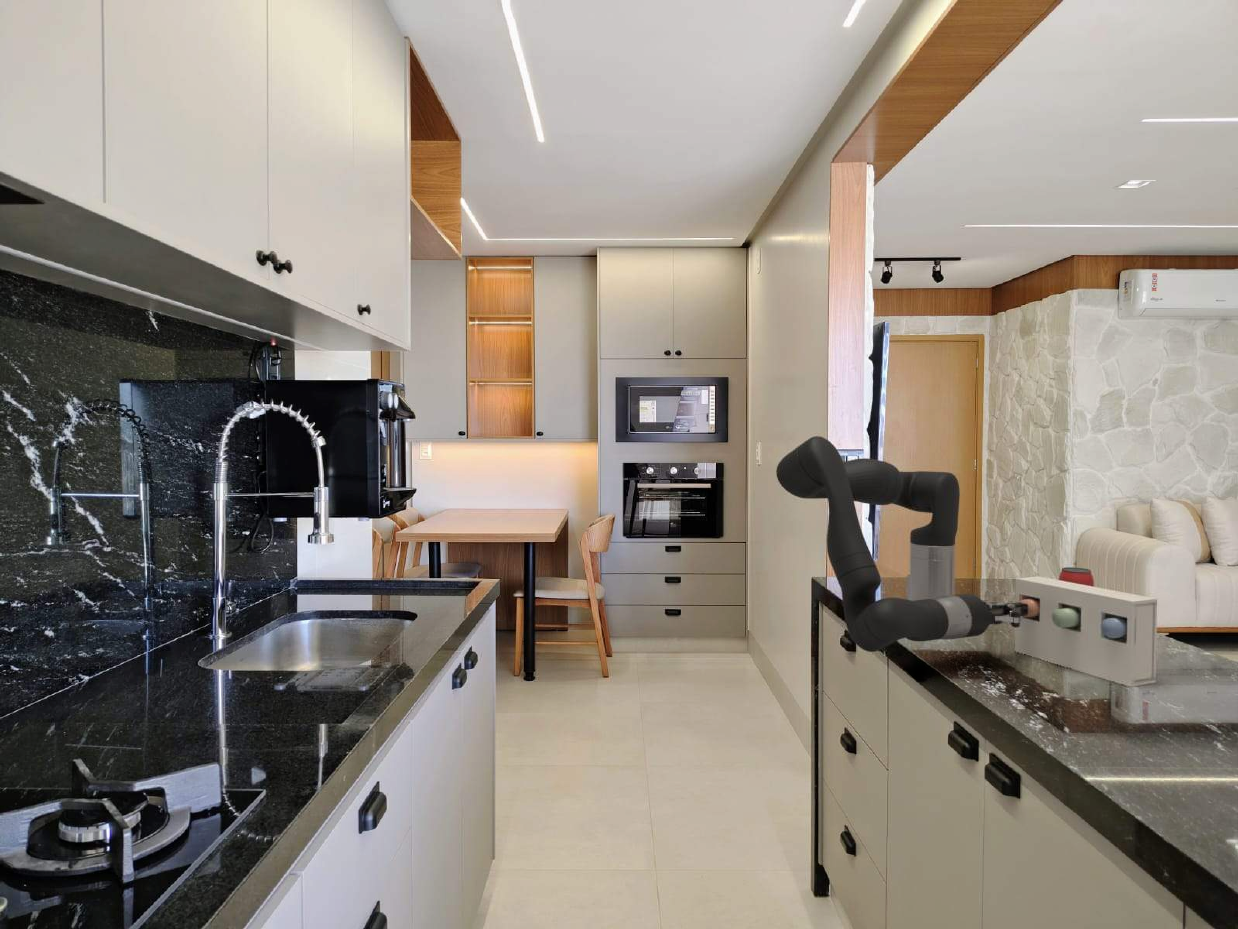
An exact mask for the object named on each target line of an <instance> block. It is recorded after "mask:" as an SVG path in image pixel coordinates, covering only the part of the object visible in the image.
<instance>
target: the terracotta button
mask: <svg viewBox="0 0 1238 929" xmlns="http://www.w3.org/2000/svg"><path fill="white" fill-rule="evenodd" d="M1020 602H1021V603H1025V604H1028V615H1027V616H1025V617H1033V616H1040V598H1035V599H1026V600H1022V601H1020Z"/></svg>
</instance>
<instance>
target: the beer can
mask: <svg viewBox="0 0 1238 929" xmlns="http://www.w3.org/2000/svg"><path fill="white" fill-rule="evenodd" d="M1060 571H1061V572H1060V574H1059V575H1058V580H1060V581H1066V582H1071V583H1076V584H1082V585H1087V586H1092V587H1095V586H1094V585H1095V580H1094V577H1093V575H1092V570H1091V569H1089V568H1084V567H1070V566H1069V567H1062V568H1061V570H1060Z"/></svg>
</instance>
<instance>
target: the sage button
mask: <svg viewBox="0 0 1238 929" xmlns="http://www.w3.org/2000/svg"><path fill="white" fill-rule="evenodd" d="M1052 620H1053V622H1054V624H1055V625H1056V626H1058V627H1060V628H1065V627H1073V626H1079V625H1081V611H1080V610H1079V609H1077V608H1065V609H1057V610H1055V611H1054V612H1053V614H1052Z"/></svg>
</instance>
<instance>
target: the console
mask: <svg viewBox="0 0 1238 929" xmlns="http://www.w3.org/2000/svg"><path fill="white" fill-rule="evenodd" d="M1035 598H1040V616H1033V617H1025V616H1021V621H1020V626H1019V627H1017V628H1015V627H1014V652H1015V651H1016V653H1017V652H1019V653H1018V654H1021V653H1022V655H1024V654H1027V655H1030V656H1032V657H1031V658H1034V657H1036V658H1035V659H1037V658H1039V659H1038V660H1040V659H1041V661H1043V662H1047V661H1048V663H1050V662H1051V664H1053V663H1054V665H1057V664H1058V666H1060V665H1061V667H1063V666H1064V668H1067V667H1068V668H1067V669H1070V668H1071V669H1070V670H1073V671H1077V672H1081V673H1082V674H1083V673H1084V674H1087V675H1090V676H1093V677H1096V678H1100V679H1104V680H1107V681H1109V682H1113V681H1114V682H1113V683H1116V684H1120V685H1122V684H1123V686H1127V687H1130V688H1132V687H1133V688H1134V687H1137V686H1138V687H1139V686H1145V685H1150V684H1156V674H1157V672H1156V671H1157V670H1156V668H1157V624H1158V623H1157V622H1158V598H1156V597H1150V596H1144V595H1138V594H1133V593H1129V592H1123V591H1118V590H1114V589H1113V590H1112V589H1109V588H1102V587H1097V586H1094V587H1092V586H1087V585H1082V584H1076V583H1071V582H1066V581H1060V580H1059V579H1054V578H1049V577H1044V576H1039V575H1038V576H1030V577H1028V576H1027V577H1018V578H1015V598H1014V601H1015V602H1014V603H1017V602H1020V601H1022V600H1026V599H1035ZM1065 608H1077V609H1079V610H1080V611H1081V625H1079V626H1073V627H1065V628H1060V627H1058V626H1056V625H1055V624H1054V622H1053V620H1052V614H1053V612H1054V611H1055V610H1057V609H1065ZM1117 617H1126V618H1127V636H1126V637H1119V638H1108V637H1107V636H1105V635H1104V634H1103V632H1102V630H1101V623H1102V621H1103V620H1105V619H1109V618H1117ZM1027 655H1026V656H1027ZM1030 656H1029V657H1030Z"/></svg>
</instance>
